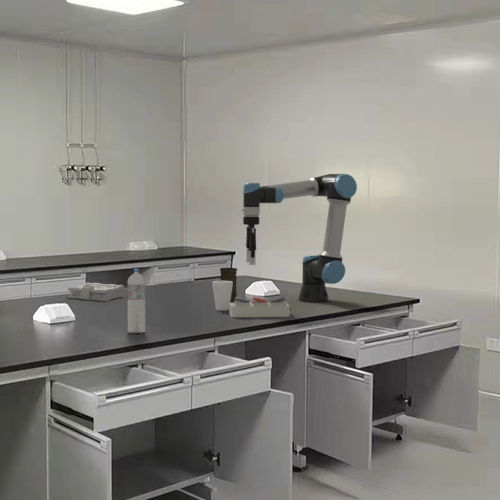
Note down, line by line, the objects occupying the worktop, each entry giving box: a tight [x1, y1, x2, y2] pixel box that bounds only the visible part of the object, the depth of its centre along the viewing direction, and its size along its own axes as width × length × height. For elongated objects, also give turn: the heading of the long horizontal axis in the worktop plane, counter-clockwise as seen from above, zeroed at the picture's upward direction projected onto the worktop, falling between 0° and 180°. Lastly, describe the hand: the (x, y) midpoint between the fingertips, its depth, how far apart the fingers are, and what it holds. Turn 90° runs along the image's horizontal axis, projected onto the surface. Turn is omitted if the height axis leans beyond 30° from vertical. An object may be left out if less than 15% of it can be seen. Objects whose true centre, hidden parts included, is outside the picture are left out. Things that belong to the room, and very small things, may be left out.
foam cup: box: [212, 280, 233, 311], centre depth 357 cm, size 10×9×13 cm
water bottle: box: [127, 268, 146, 334], centre depth 299 cm, size 7×7×25 cm
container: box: [219, 267, 238, 303], centre depth 369 cm, size 9×9×18 cm
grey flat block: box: [67, 281, 126, 302], centre depth 391 cm, size 19×28×8 cm
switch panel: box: [228, 300, 292, 318], centre depth 343 cm, size 27×10×6 cm, turn 97°
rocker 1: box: [235, 296, 250, 303], centre depth 339 cm, size 6×4×1 cm, turn 98°
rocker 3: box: [269, 295, 286, 303], centre depth 341 cm, size 6×4×1 cm, turn 97°
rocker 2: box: [252, 296, 268, 303], centre depth 340 cm, size 6×4×1 cm, turn 98°
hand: (250, 263), depth 356 cm, fingers open, 10 cm apart
